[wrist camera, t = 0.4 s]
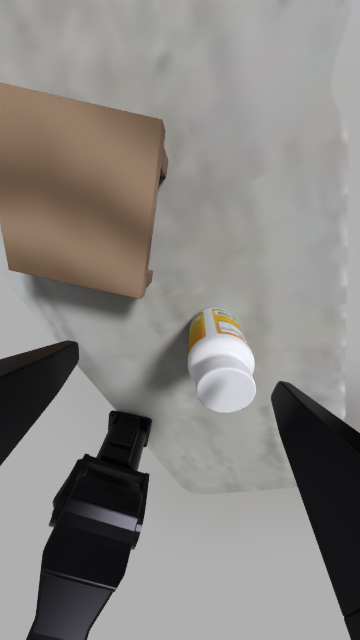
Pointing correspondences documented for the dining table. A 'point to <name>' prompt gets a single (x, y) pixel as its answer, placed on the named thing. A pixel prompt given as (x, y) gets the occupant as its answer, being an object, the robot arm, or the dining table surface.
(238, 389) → the supplement bottle
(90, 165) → the stool
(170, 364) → the dining table surface
